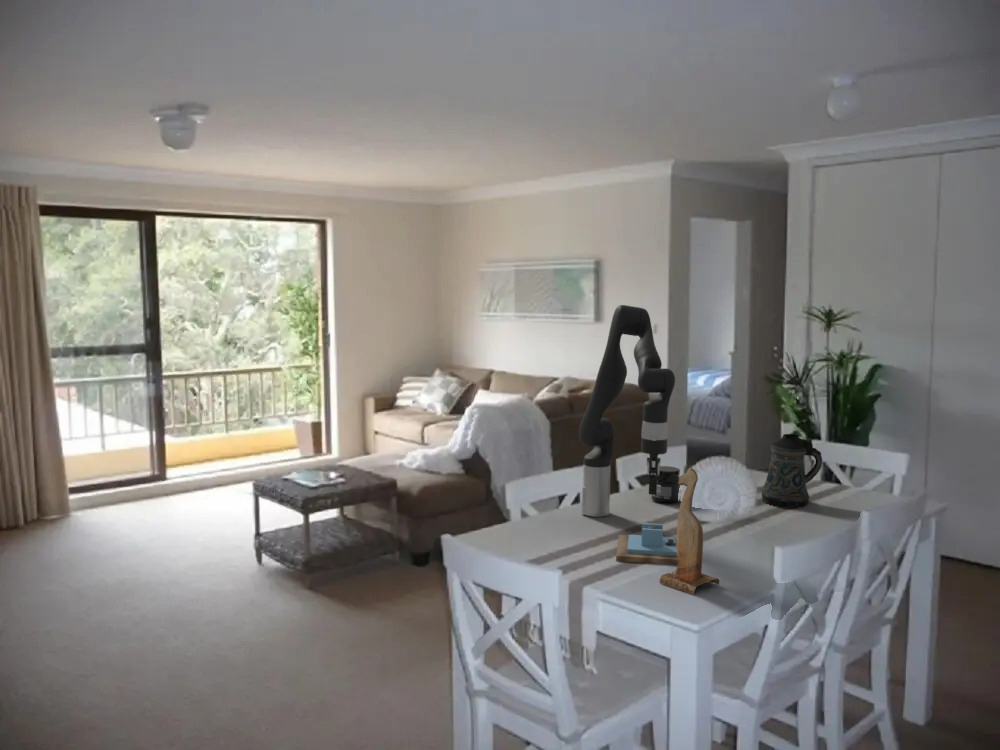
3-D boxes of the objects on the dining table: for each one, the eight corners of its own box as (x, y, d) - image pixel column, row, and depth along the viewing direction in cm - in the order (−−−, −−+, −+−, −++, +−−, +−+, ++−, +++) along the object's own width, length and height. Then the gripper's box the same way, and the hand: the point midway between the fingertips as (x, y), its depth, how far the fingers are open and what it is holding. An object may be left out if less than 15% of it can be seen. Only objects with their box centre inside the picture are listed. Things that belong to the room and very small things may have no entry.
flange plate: (627, 553, 240) (627, 532, 239) (628, 538, 254) (629, 518, 253) (676, 556, 237) (677, 535, 237) (675, 541, 251) (676, 521, 250)
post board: (616, 560, 238) (616, 535, 237) (618, 539, 257) (619, 516, 256) (687, 565, 234) (688, 539, 233) (684, 543, 253) (685, 519, 253)
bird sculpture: (683, 575, 227) (682, 460, 224) (720, 585, 219) (720, 466, 216) (658, 585, 220) (658, 467, 217) (696, 596, 211) (696, 473, 208)
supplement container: (680, 498, 307) (681, 466, 306) (680, 505, 297) (681, 472, 296) (651, 496, 310) (652, 464, 308) (650, 503, 299) (651, 471, 298)
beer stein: (751, 498, 307) (754, 432, 304) (796, 494, 313) (799, 429, 310) (779, 510, 291) (782, 440, 289) (825, 506, 297) (829, 437, 294)
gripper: (641, 431, 249) (640, 484, 251) (640, 440, 235) (639, 496, 237) (667, 432, 248) (665, 485, 250) (667, 441, 234) (665, 497, 236)
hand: (652, 490), depth 243 cm, fingers open, 8 cm apart
